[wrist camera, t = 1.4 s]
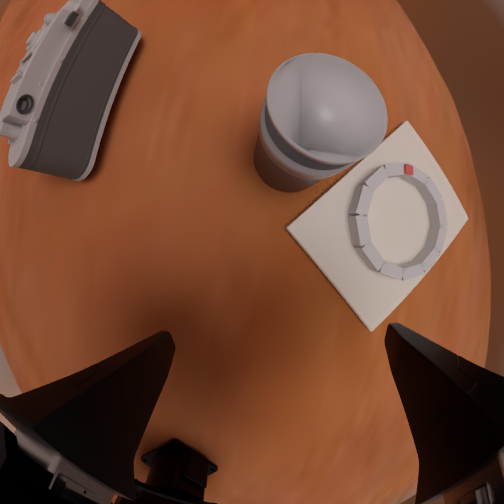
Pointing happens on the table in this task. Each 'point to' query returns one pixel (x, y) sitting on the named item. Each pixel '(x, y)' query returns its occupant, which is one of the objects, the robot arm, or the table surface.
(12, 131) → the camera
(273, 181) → the grey round piece
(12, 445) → the robot arm
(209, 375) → the table surface
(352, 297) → the board
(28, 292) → the table surface
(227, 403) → the table surface
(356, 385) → the table surface
